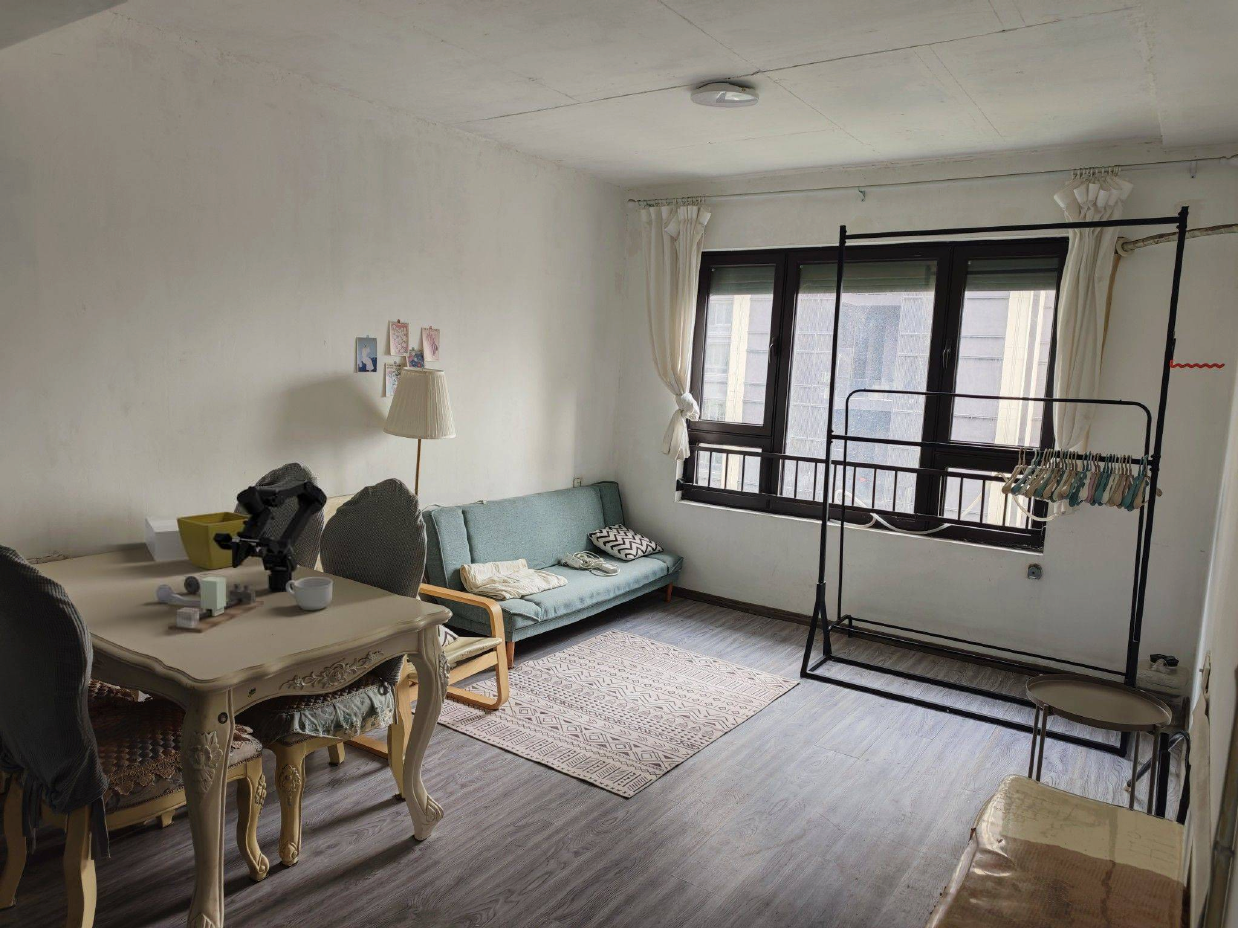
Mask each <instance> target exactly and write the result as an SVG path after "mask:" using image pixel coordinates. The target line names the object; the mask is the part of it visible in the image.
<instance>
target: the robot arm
mask: <svg viewBox="0 0 1238 928" xmlns="http://www.w3.org/2000/svg"><path fill="white" fill-rule="evenodd" d="M294 497H295V498H296V499H297V506H298V508H297V510H296V511H295V513H294V515H293V516H292V518H291V519H290V520H289V522H288V525H286V528H285V529H284V531H283V532H282V534H281V536H280V537H279V539H278V540H275V538H274V537H273V536H267V531H266V528H267V526H268V524H269V522H270V521H275V520H276V516H275V514H274V511H273V510H271V509H272V508H273V509H279V508H281V507H282V506H283V505H285V504H286V501H287V500H289V499H291V498H294ZM236 501H237V503H238V505H240V507H241V508H242V509H243V511H244V512H245V513H246V514H247V515H248V516H249V518H248V519H247V520H244V521H243V525H244V527H243V529H242V531H241V532H237V534H236V535H237V536H238V537H232V536H231V535H230V534H229V533H222V532H218V533H216V534H215V535H214V537H213V540H214V542H215V543H216V544H217V545H218V546H219V548H220V549H222V550H232V566H231V567H232V568H233V569H237V568H238V567H239V566H240V565H242V564H241V563H242V562H243V561H244V560H245V561H246V560H247V559H248V558H249V557H251V558H260V559H261V562H262V566H263V568H264V571H265V572H266V571H268V573H269V574H267V588H268V589H269V591H270V592H271V593H272V592H273V593H277V592H287V590H286V584H287V583H288V582H289V581H291V580H293V572H296V570H297V568H298V565H299V562H297V561H296V559H295V558H294V556H295V555H294V554H295V553H294V546H295V545H296V543H297V541H298V539H300V538H299V537H300V536H301V534H302V533H303V531H304V530H305V528H306V527H307V525H308V523H309V521H310V520H311V518H312V516H314V515H315V514H317V513H319V512H321V510H322V509H324V507H325V506H326V504H327V502H328V498H327V495H326V494H325V492H324V491H323V489H322V488H320V487H318V486H317V485H316V484H314V483H313V482H312V480H309V479H305V478H304V479H301V478H297V479H295V480H293V481H291V482H289V483H286V484H284V485H280V486H277V487H261V488H260V489H257V487H256V486H253V485H249V486H248V487H247V488H245V489H242V490H241V491H240V492H238V494H237V495H236ZM270 508H271V509H270ZM245 561H244V562H245ZM290 589H291V590H292V591H294V588H293V584H290Z"/></svg>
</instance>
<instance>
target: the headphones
mask: <svg viewBox="0 0 1238 928" xmlns="http://www.w3.org/2000/svg"><path fill="white" fill-rule="evenodd" d="M183 577H184V578H183V579H182V580H181V581H182V582H184V583H183V587H184V589H185V591H186V592H187V593H188V592H189V593H188V594H192V593H193V595H195V594H197V593H199V591H200V592H201V581H199V579H198V578H197V577H196V576H194V575H189V576H186V575H183ZM155 595H156V598H157V599H158V601H159V602H160V603H162V604H164V603H165V604H168V603H171V601H174V602H175V603H178V604H182V605H186V606H195V607H196V606H197V607H199V606H200V607H201V599H200V600H196V599H188V598H185V597H183V596H181V595H179V594H178V593H177V594H176V593H174V592H173V589H172V588H171V587H170V586H169V585H168V584H160V585H159V586H158V587H156V592H155Z"/></svg>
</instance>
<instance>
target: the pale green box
mask: <svg viewBox="0 0 1238 928" xmlns="http://www.w3.org/2000/svg"><path fill="white" fill-rule="evenodd" d="M200 585H201V591H200V600H201V605H200V609H202V611H203V613H204V612H207V611H209V610H211V609H212V616H217V615H219V614H221V613H224V606H226V601H227V578H226V577H220V576H219V577H217V576H208V577H205V578H202V579H200Z"/></svg>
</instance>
